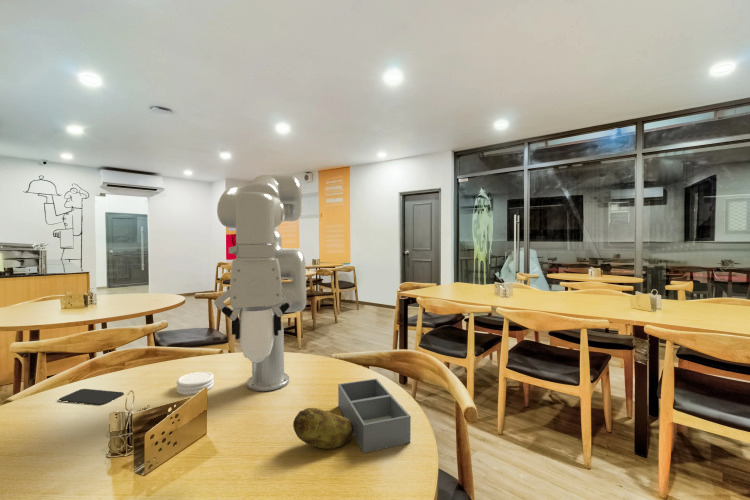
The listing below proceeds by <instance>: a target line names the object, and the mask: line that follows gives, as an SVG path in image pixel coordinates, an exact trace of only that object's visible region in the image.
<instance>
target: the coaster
mask: <svg viewBox="0 0 750 500" xmlns="http://www.w3.org/2000/svg"><path fill="white" fill-rule="evenodd" d="M214 377H215V376H214V373H212V372H210V371H195V372H190V373H187V374H184V375H181V376H180V377H179V378H178V379H177V380H176V393H178V394H180V395H183V396H192V395H197V394H196V393H198V392H199V391H200V390H202V389H203V388H206V387H207V388H208V390H207V391H209V390H211V389H212V388H213V387H214V384H215V382H214Z"/></svg>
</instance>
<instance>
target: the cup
mask: <svg viewBox="0 0 750 500" xmlns="http://www.w3.org/2000/svg"><path fill="white" fill-rule="evenodd" d="M238 340H239V343H240V344H239V345H240V348H241V352H242V354H243V357H244V358H246V359H247V360H249V361H250V362H251V363H252V362H256V363H258V362H261V361H263V360H264V359H265V358H266V356H269V355H270V353H271V350H272V346H273V341H274V317H273V312H272V307H262V308H247V309H241V310H240V312H239V339H238Z"/></svg>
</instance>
